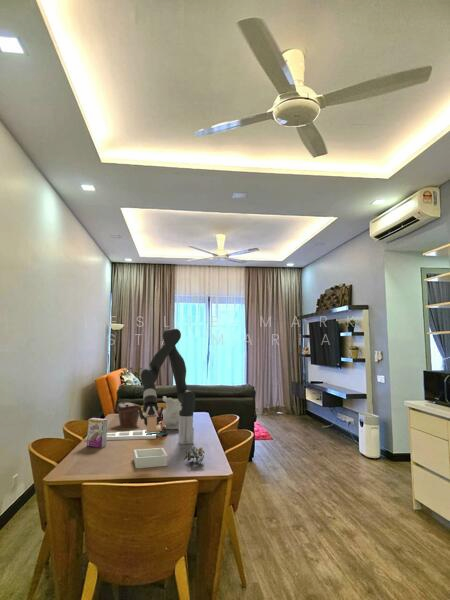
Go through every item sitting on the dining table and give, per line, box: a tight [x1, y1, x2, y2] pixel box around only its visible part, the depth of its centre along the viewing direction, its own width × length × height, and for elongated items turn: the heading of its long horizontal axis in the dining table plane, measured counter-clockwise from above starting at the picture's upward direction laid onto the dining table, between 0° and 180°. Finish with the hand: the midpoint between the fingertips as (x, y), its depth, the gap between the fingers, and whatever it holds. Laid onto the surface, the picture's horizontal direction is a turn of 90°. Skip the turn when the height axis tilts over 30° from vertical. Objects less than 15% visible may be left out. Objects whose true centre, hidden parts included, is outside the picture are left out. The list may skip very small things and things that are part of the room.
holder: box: [85, 429, 157, 442], centre depth 252 cm, size 45×18×3 cm, turn 101°
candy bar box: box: [86, 417, 108, 449], centre depth 227 cm, size 11×5×16 cm, turn 71°
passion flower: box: [183, 444, 205, 466], centre depth 195 cm, size 11×11×12 cm
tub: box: [145, 415, 158, 434], centre depth 199 cm, size 5×5×8 cm
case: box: [116, 401, 142, 428], centre depth 289 cm, size 18×20×18 cm
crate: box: [133, 447, 169, 469], centre depth 196 cm, size 16×16×5 cm
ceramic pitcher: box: [162, 395, 182, 430], centre depth 285 cm, size 22×20×25 cm
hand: (151, 424), depth 197 cm, fingers closed on tub, 5 cm apart
